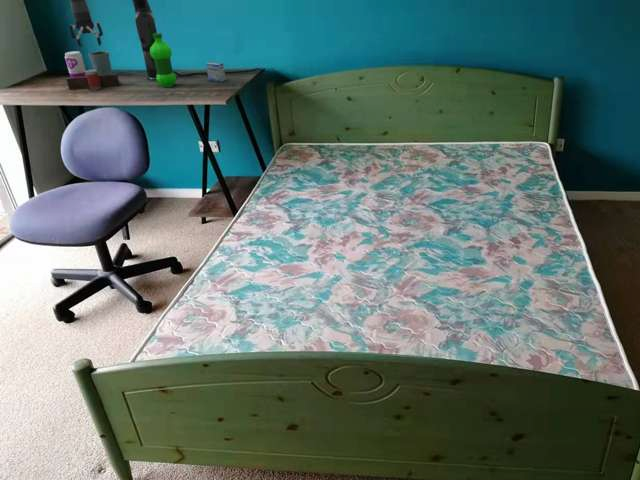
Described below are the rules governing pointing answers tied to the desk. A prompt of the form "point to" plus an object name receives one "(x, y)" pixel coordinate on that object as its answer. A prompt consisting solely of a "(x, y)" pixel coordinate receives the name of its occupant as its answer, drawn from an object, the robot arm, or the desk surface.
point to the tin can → (93, 79)
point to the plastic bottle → (162, 61)
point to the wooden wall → (83, 83)
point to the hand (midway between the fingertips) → (90, 46)
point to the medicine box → (215, 72)
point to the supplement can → (75, 64)
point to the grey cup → (101, 62)
